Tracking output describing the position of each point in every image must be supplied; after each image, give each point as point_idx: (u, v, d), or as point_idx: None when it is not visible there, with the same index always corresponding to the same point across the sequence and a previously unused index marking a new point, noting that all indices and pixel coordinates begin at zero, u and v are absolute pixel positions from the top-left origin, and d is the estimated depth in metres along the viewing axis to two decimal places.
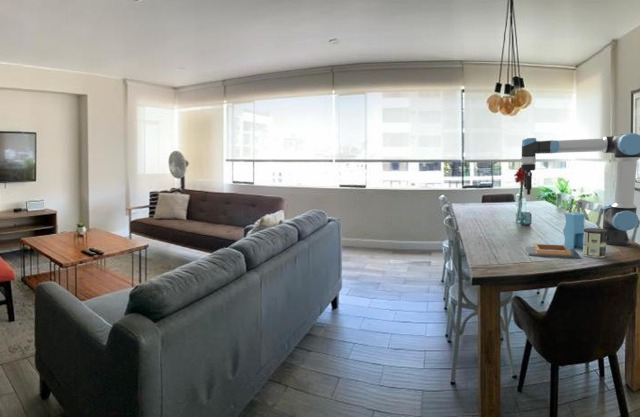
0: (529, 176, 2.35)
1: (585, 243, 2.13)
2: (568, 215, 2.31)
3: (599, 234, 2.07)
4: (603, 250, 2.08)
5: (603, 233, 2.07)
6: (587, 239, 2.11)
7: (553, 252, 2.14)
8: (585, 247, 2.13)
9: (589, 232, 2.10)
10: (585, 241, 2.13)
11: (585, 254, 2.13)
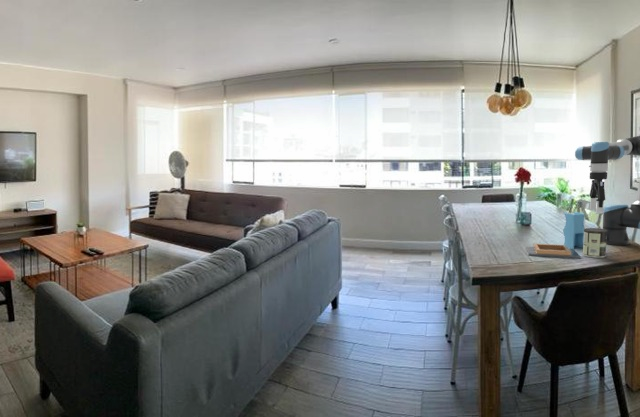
0: (601, 186, 2.02)
1: (585, 243, 2.13)
2: (568, 215, 2.31)
3: (599, 234, 2.07)
4: (603, 250, 2.08)
5: (603, 233, 2.07)
6: (587, 239, 2.11)
7: (553, 252, 2.14)
8: (585, 247, 2.13)
9: (589, 232, 2.10)
10: (585, 241, 2.13)
11: (585, 254, 2.13)
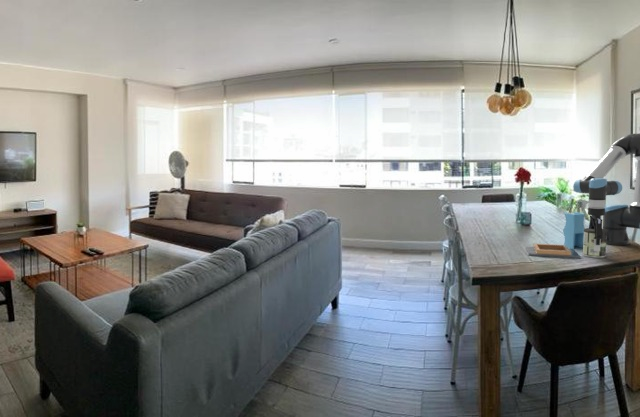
0: (599, 224, 2.05)
1: (585, 243, 2.13)
2: (568, 215, 2.31)
3: None
4: (603, 250, 2.08)
5: (603, 233, 2.07)
6: (587, 239, 2.11)
7: (553, 252, 2.14)
8: (585, 247, 2.13)
9: (589, 232, 2.10)
10: (585, 241, 2.13)
11: (585, 254, 2.13)
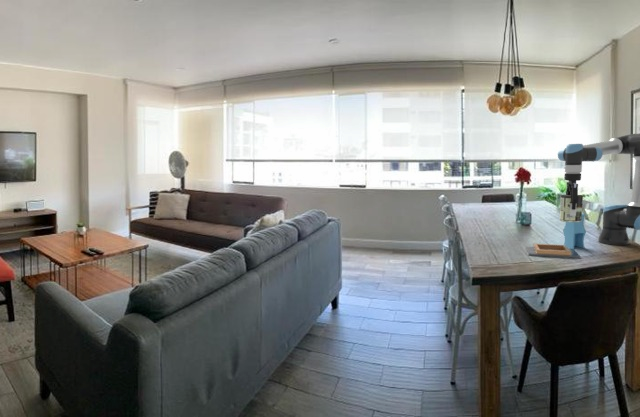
0: (575, 188, 2.07)
1: (562, 208, 2.14)
2: None
3: None
4: (579, 215, 2.10)
5: (579, 197, 2.09)
6: (563, 204, 2.13)
7: (553, 252, 2.14)
8: (561, 212, 2.14)
9: (565, 197, 2.11)
10: (562, 206, 2.14)
11: (561, 219, 2.15)
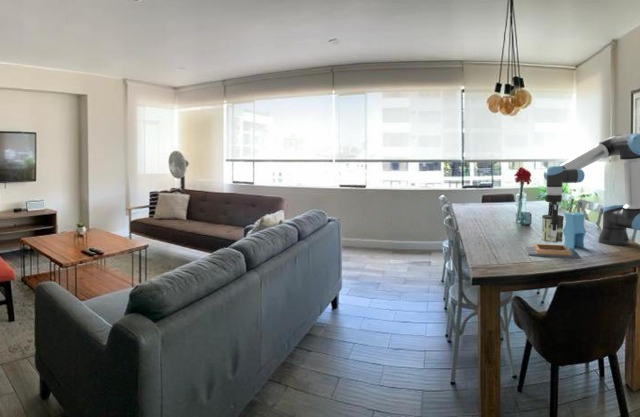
0: (555, 210, 2.12)
1: (543, 229, 2.19)
2: (568, 215, 2.31)
3: None
4: (559, 235, 2.15)
5: (560, 219, 2.14)
6: (544, 224, 2.18)
7: (553, 252, 2.14)
8: (543, 233, 2.19)
9: (546, 218, 2.16)
10: (543, 227, 2.19)
11: (543, 239, 2.20)
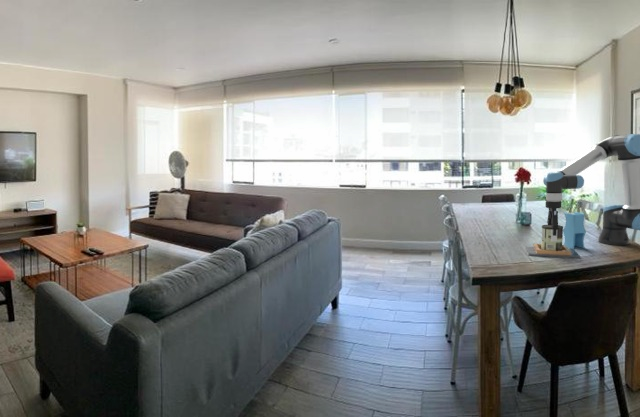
0: (555, 215, 2.12)
1: (543, 239, 2.20)
2: (568, 215, 2.31)
3: None
4: (559, 245, 2.16)
5: (559, 229, 2.15)
6: (544, 235, 2.19)
7: (553, 252, 2.14)
8: (543, 243, 2.20)
9: (546, 228, 2.17)
10: (543, 237, 2.20)
11: (543, 249, 2.21)
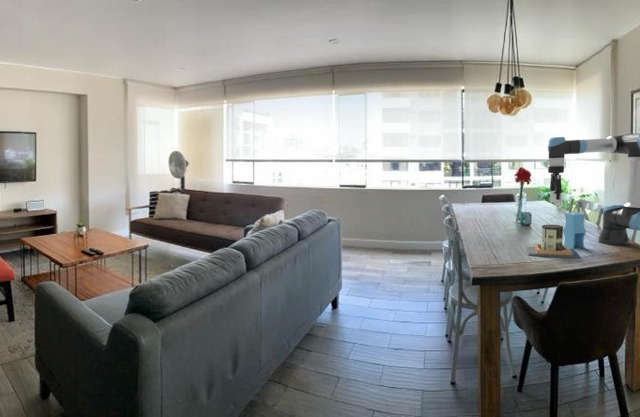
0: (558, 179, 2.12)
1: (543, 239, 2.20)
2: (568, 215, 2.31)
3: (555, 230, 2.15)
4: (559, 245, 2.16)
5: (559, 229, 2.15)
6: (544, 235, 2.19)
7: (553, 252, 2.14)
8: (543, 243, 2.20)
9: (546, 228, 2.17)
10: (543, 237, 2.20)
11: (543, 249, 2.21)
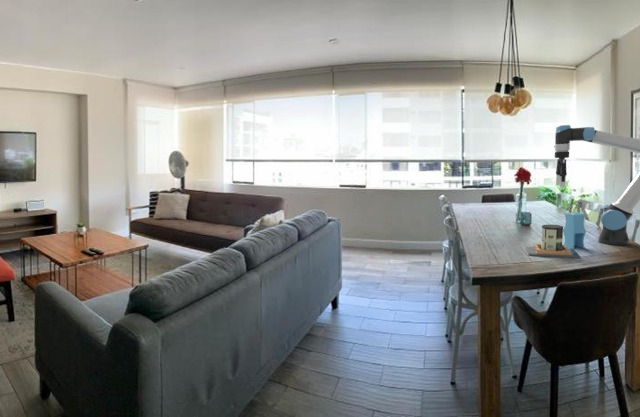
0: (563, 163, 2.35)
1: (543, 239, 2.20)
2: (568, 215, 2.31)
3: (555, 230, 2.15)
4: (559, 245, 2.16)
5: (559, 229, 2.15)
6: (544, 235, 2.19)
7: (553, 252, 2.14)
8: (543, 243, 2.20)
9: (546, 228, 2.17)
10: (543, 237, 2.20)
11: (543, 249, 2.21)
